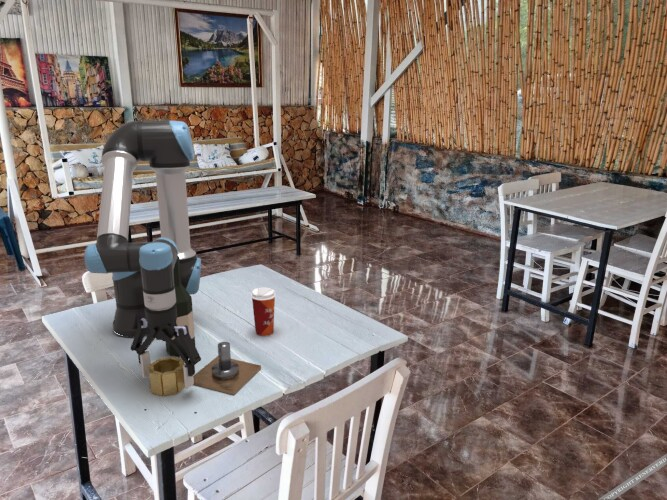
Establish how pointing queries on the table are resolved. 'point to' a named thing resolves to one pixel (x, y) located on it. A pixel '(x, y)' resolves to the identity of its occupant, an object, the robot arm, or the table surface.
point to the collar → (166, 376)
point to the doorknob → (225, 372)
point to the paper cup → (263, 310)
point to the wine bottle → (182, 308)
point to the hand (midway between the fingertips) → (167, 380)
